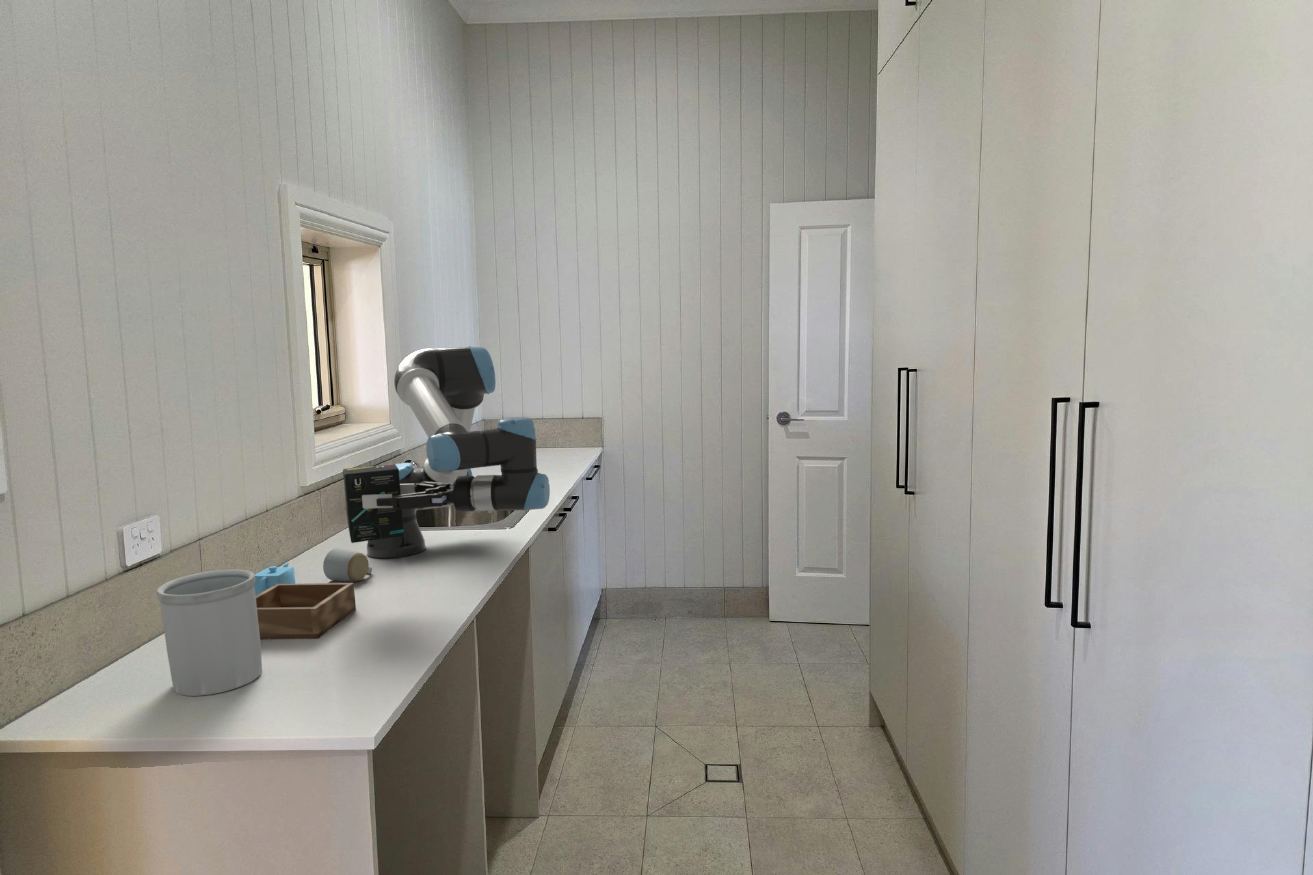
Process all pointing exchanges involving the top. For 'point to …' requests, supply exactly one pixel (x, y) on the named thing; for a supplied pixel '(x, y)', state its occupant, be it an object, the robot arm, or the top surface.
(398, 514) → the tampon box
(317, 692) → the top surface
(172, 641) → the utensil holder
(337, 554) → the ceramic mug
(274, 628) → the box
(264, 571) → the teapot
